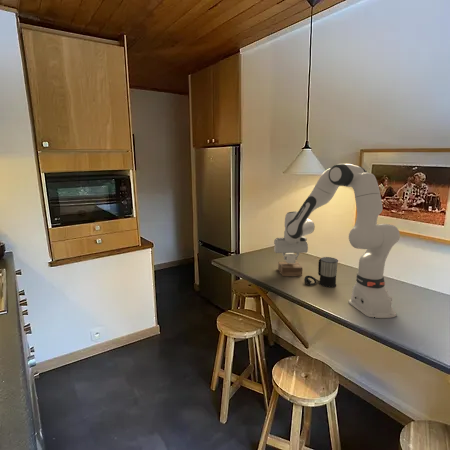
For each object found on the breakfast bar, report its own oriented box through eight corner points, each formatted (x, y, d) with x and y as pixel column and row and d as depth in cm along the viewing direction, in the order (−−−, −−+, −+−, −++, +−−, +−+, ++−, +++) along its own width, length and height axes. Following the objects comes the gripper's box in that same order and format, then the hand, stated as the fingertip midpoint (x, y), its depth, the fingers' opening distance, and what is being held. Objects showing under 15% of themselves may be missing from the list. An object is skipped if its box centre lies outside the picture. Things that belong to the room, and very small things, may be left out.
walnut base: (302, 275, 190) (302, 267, 189) (282, 276, 189) (282, 268, 188) (296, 268, 201) (297, 261, 200) (278, 269, 201) (278, 261, 200)
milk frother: (339, 285, 175) (341, 260, 172) (319, 291, 167) (321, 265, 164) (320, 277, 187) (322, 253, 184) (300, 282, 179) (301, 257, 176)
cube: (295, 263, 192) (295, 255, 190) (287, 263, 191) (287, 255, 190) (293, 260, 196) (293, 252, 195) (285, 260, 196) (285, 253, 195)
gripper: (275, 239, 187) (274, 261, 190) (309, 238, 188) (308, 260, 191) (273, 236, 193) (272, 258, 196) (306, 236, 194) (305, 257, 197)
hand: (290, 259), depth 194 cm, fingers closed on cube, 5 cm apart
